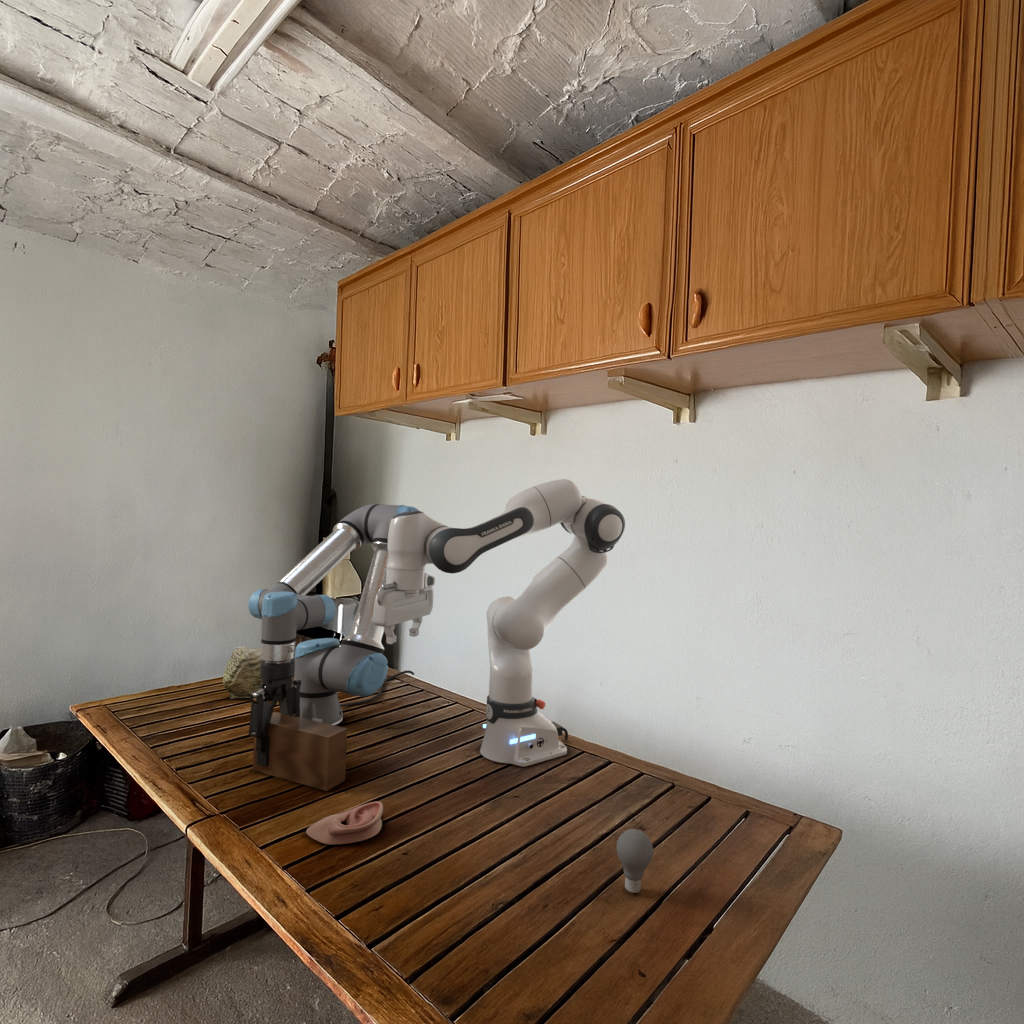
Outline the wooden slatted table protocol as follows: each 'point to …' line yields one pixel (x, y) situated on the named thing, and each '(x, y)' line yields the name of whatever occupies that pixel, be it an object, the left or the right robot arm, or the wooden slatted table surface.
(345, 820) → the anatomical model
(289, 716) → the box
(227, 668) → the fossil
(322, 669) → the left robot arm
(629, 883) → the light bulb
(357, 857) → the wooden slatted table surface
